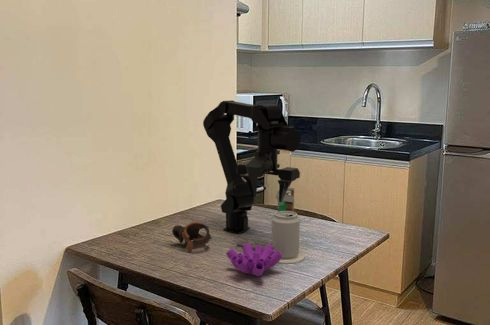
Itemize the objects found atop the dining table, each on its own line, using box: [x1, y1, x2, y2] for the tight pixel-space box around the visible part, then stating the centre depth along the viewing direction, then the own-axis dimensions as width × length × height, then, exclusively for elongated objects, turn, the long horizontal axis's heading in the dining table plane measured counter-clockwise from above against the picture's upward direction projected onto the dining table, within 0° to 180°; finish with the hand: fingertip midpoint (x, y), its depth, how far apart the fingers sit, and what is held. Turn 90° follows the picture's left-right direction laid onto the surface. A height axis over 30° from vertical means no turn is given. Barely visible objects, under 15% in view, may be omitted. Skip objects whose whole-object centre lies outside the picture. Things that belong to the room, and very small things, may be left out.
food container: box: [275, 187, 295, 212], centre depth 171 cm, size 12×6×10 cm, turn 172°
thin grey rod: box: [236, 241, 265, 251], centre depth 142 cm, size 11×1×1 cm, turn 56°
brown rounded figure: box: [171, 221, 212, 253], centre depth 144 cm, size 12×10×8 cm
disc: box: [277, 251, 305, 265], centre depth 136 cm, size 10×10×1 cm
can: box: [271, 211, 301, 259], centre depth 135 cm, size 8×8×12 cm
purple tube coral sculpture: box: [225, 243, 282, 277], centre depth 126 cm, size 11×15×10 cm
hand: (267, 199), depth 147 cm, fingers open, 9 cm apart
